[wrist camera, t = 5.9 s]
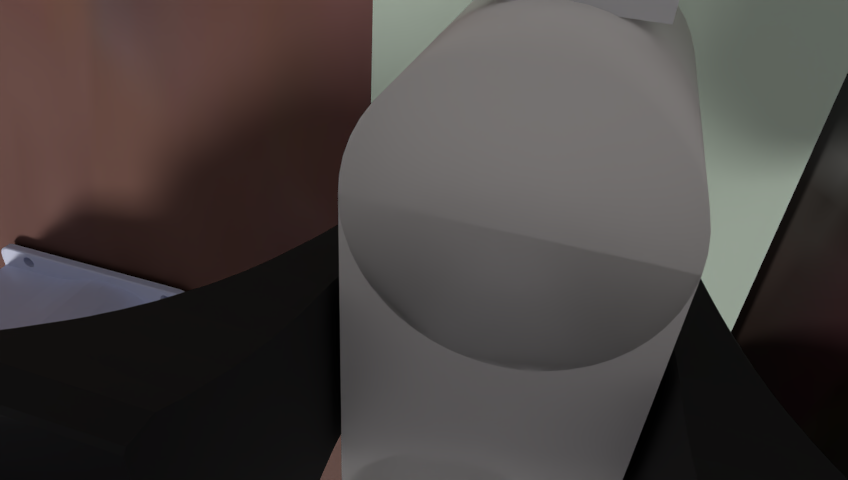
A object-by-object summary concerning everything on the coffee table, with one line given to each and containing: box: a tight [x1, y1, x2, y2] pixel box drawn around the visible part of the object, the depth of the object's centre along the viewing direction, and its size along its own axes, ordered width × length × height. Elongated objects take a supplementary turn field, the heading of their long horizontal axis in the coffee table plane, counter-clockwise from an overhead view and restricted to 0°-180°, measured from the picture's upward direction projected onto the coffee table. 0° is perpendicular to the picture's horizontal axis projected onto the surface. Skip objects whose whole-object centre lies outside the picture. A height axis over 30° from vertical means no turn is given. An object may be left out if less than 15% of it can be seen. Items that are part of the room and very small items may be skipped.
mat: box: [371, 0, 848, 331], centre depth 18 cm, size 12×16×1 cm
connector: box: [338, 0, 711, 480], centre depth 10 cm, size 4×13×5 cm, turn 176°
